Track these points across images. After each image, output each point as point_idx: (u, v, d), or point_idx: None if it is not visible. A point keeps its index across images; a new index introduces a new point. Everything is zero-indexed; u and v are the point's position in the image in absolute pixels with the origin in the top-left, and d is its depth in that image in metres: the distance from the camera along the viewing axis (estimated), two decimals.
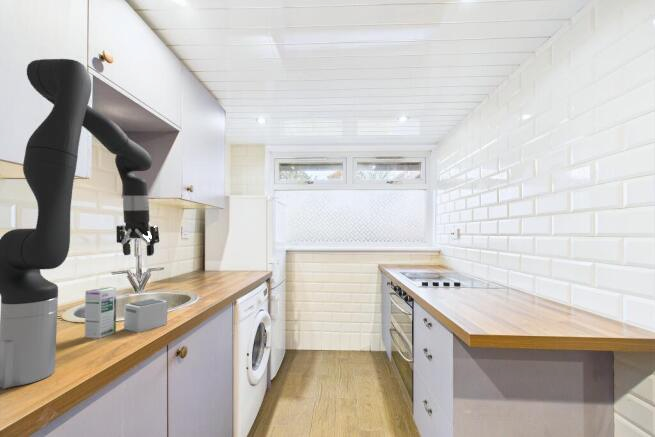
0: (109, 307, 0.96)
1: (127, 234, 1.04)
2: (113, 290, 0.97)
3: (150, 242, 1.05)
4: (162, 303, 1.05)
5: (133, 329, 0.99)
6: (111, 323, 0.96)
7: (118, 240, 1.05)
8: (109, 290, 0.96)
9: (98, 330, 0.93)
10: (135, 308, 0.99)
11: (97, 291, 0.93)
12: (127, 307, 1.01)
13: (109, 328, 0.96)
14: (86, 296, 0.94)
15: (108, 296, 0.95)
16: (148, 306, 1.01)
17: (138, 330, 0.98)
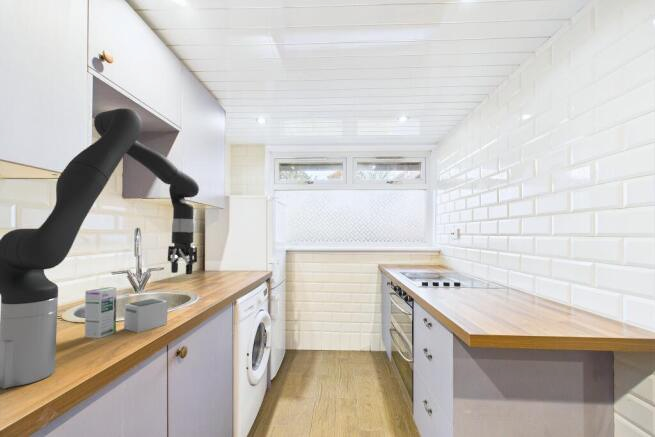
0: (109, 307, 0.96)
1: (174, 253, 1.16)
2: (113, 290, 0.97)
3: (188, 261, 1.13)
4: (162, 303, 1.05)
5: (133, 329, 0.99)
6: (111, 323, 0.96)
7: (168, 259, 1.18)
8: (109, 290, 0.96)
9: (98, 330, 0.93)
10: (135, 308, 0.99)
11: (97, 291, 0.93)
12: (127, 307, 1.01)
13: (109, 328, 0.96)
14: (86, 296, 0.94)
15: (108, 296, 0.95)
16: (148, 306, 1.01)
17: (138, 330, 0.98)
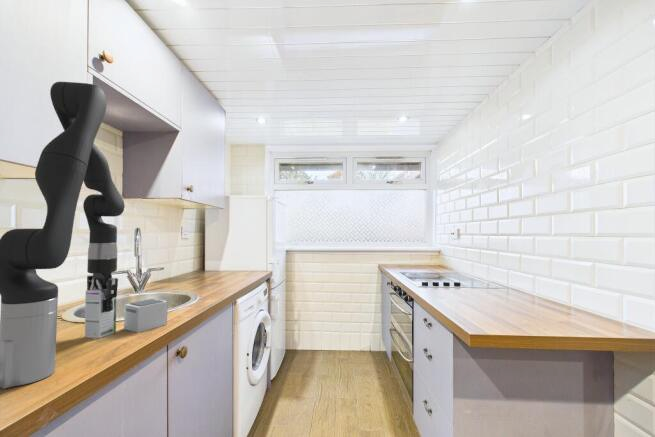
0: None
1: (92, 285, 0.96)
2: (113, 290, 0.97)
3: None
4: (162, 303, 1.05)
5: (133, 329, 0.99)
6: (111, 323, 0.96)
7: None
8: None
9: (98, 330, 0.93)
10: (135, 308, 0.99)
11: (97, 291, 0.93)
12: (127, 307, 1.01)
13: (109, 328, 0.96)
14: (86, 296, 0.94)
15: None
16: (148, 306, 1.01)
17: (138, 330, 0.98)
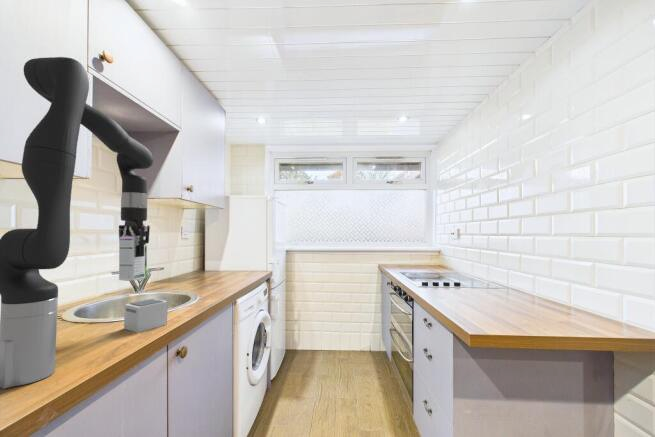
0: None
1: (124, 232, 1.02)
2: (144, 238, 1.04)
3: (139, 242, 1.00)
4: (162, 303, 1.05)
5: (133, 329, 0.99)
6: (143, 268, 1.03)
7: None
8: None
9: (132, 273, 0.99)
10: (135, 308, 0.99)
11: (130, 237, 1.00)
12: (127, 307, 1.01)
13: (141, 273, 1.02)
14: (119, 242, 1.00)
15: None
16: (148, 306, 1.01)
17: (138, 330, 0.98)
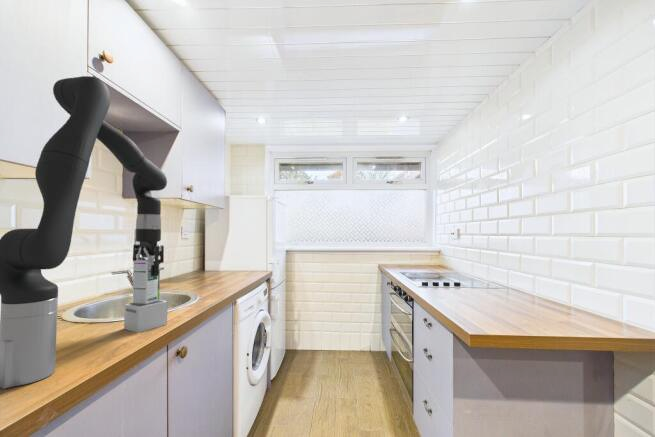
0: (154, 276, 1.04)
1: (138, 253, 1.05)
2: None
3: (154, 262, 1.02)
4: (162, 303, 1.05)
5: (133, 329, 0.99)
6: (155, 291, 1.05)
7: (133, 259, 1.07)
8: None
9: (145, 296, 1.01)
10: (135, 308, 0.99)
11: (144, 261, 1.02)
12: (127, 307, 1.01)
13: (154, 296, 1.04)
14: (134, 266, 1.03)
15: None
16: (148, 306, 1.01)
17: (138, 330, 0.98)
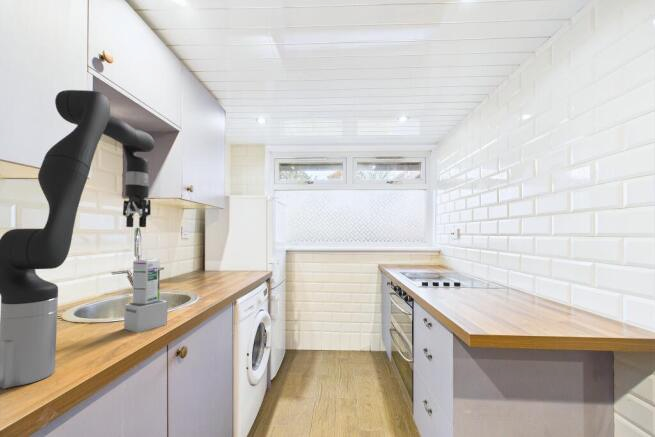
0: (154, 276, 1.04)
1: (128, 207, 1.16)
2: (157, 261, 1.06)
3: (142, 214, 1.13)
4: (162, 303, 1.05)
5: (133, 329, 0.99)
6: (155, 291, 1.05)
7: (123, 213, 1.19)
8: (154, 261, 1.05)
9: (145, 297, 1.01)
10: (135, 308, 0.99)
11: (144, 261, 1.02)
12: (127, 307, 1.01)
13: (154, 296, 1.04)
14: (133, 266, 1.03)
15: (153, 266, 1.04)
16: (148, 306, 1.01)
17: (138, 330, 0.98)
